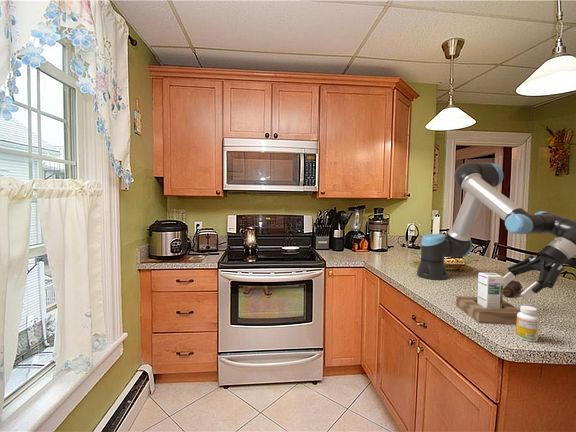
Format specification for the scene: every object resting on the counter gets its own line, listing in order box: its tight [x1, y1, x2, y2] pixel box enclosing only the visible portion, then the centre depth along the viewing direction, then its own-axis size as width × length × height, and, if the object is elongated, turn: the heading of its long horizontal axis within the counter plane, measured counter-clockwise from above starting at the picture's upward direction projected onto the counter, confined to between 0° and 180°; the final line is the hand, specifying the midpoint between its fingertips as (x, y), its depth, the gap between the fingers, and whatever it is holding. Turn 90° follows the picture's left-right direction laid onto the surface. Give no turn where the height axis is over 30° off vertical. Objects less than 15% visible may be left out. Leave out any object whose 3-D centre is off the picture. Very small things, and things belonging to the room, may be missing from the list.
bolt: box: [503, 279, 523, 298], centre depth 133 cm, size 6×5×15 cm
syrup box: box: [477, 272, 504, 308], centre depth 109 cm, size 6×6×14 cm
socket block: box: [455, 295, 521, 325], centre depth 109 cm, size 16×16×4 cm
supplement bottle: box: [515, 305, 540, 343], centre depth 91 cm, size 5×5×10 cm
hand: (511, 290), depth 108 cm, fingers open, 13 cm apart
